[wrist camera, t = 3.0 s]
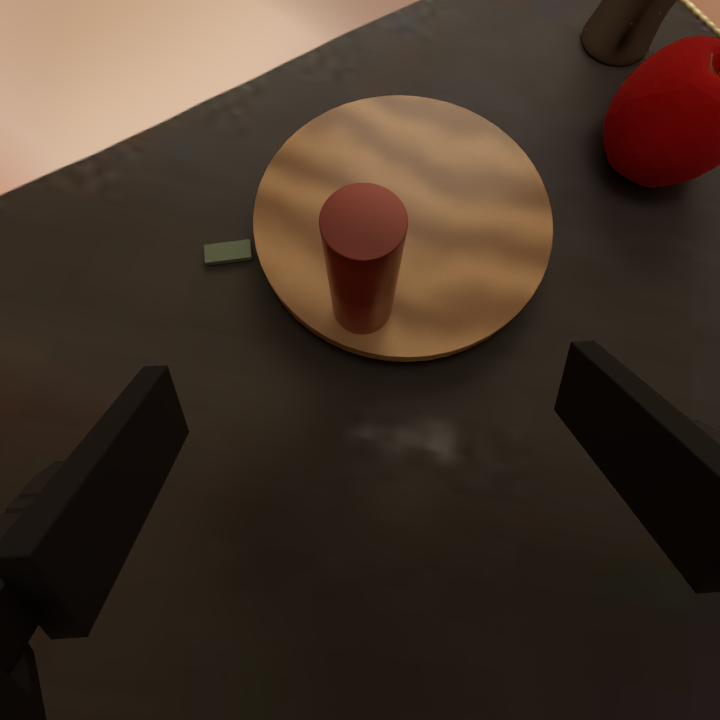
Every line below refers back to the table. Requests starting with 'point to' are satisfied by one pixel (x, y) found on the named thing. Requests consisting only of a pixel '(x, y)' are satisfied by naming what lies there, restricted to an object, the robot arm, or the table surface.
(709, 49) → the fruit
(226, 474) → the table surface
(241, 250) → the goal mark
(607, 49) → the beer glass
